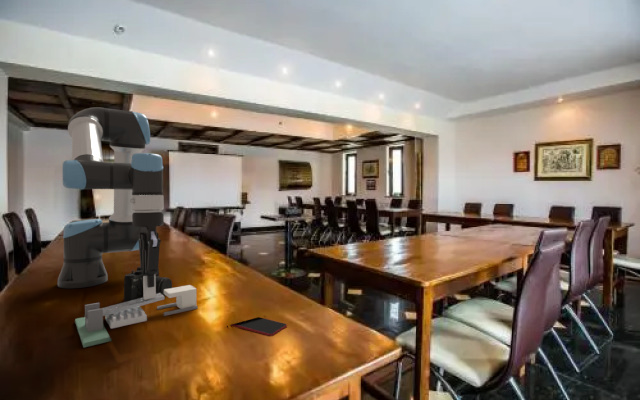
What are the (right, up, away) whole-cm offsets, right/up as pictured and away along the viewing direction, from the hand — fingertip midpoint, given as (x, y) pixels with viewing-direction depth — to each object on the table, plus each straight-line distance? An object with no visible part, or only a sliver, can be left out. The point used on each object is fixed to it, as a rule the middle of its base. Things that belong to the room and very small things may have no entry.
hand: (149, 298), depth 90 cm
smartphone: (+29, -7, -3) cm, 30 cm away
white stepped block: (+6, -5, +6) cm, 9 cm away
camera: (-9, -6, +18) cm, 20 cm away
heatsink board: (-2, -6, 0) cm, 6 cm away
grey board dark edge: (-4, -2, -3) cm, 5 cm away
